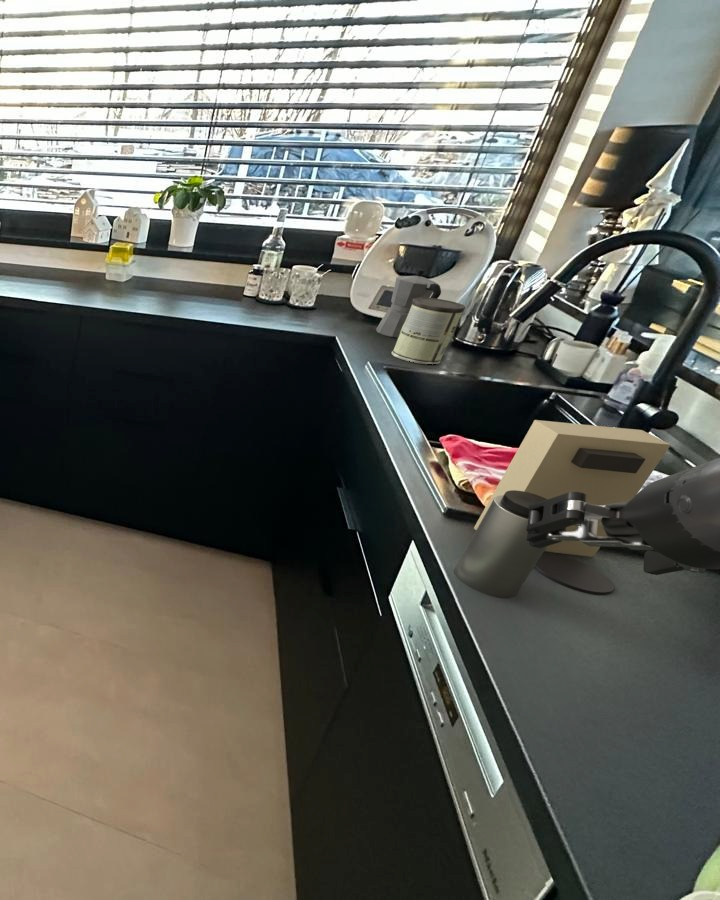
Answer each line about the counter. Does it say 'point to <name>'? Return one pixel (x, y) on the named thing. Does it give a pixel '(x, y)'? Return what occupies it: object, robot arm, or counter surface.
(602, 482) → the coffee maker
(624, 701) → the counter surface
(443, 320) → the coffee can
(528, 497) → the grey canister
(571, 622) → the counter surface
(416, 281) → the coffeepot
